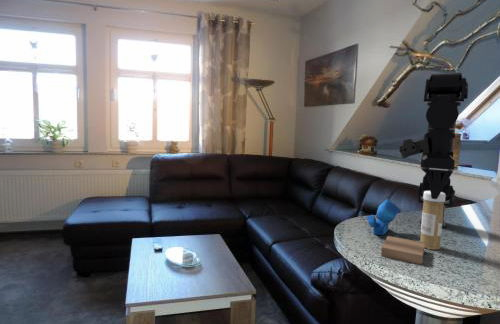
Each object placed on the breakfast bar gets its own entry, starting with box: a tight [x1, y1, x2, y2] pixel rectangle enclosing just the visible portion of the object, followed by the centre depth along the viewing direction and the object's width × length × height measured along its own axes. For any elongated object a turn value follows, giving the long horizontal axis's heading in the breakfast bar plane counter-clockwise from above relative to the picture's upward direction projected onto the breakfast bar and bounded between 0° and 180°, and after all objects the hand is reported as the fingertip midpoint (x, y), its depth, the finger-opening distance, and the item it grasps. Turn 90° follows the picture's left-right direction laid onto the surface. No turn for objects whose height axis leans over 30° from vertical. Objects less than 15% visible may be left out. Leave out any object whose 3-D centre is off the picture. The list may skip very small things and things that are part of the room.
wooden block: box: [380, 235, 425, 265], centre depth 74 cm, size 9×8×2 cm
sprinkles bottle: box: [419, 191, 445, 251], centre depth 78 cm, size 5×5×14 cm
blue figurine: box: [365, 198, 401, 237], centre depth 89 cm, size 7×9×12 cm
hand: (434, 195), depth 77 cm, fingers open, 9 cm apart
